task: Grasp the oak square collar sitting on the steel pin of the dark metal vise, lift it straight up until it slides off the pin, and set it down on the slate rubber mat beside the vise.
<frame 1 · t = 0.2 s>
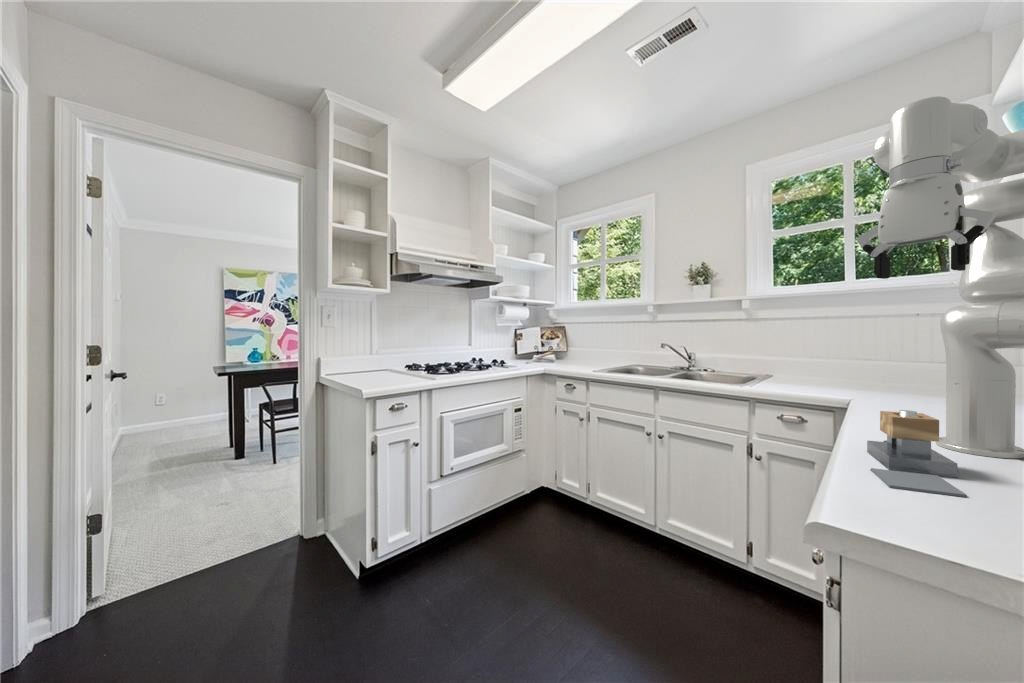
hand: (918, 274, 68), 36 cm above the worktop, tool pointing down, fingers open, 9 cm apart
vise: (907, 463, 76), on the worktop
collar: (907, 435, 76), point 5 cm above the worktop, touching vise
mat: (914, 482, 67), on the worktop
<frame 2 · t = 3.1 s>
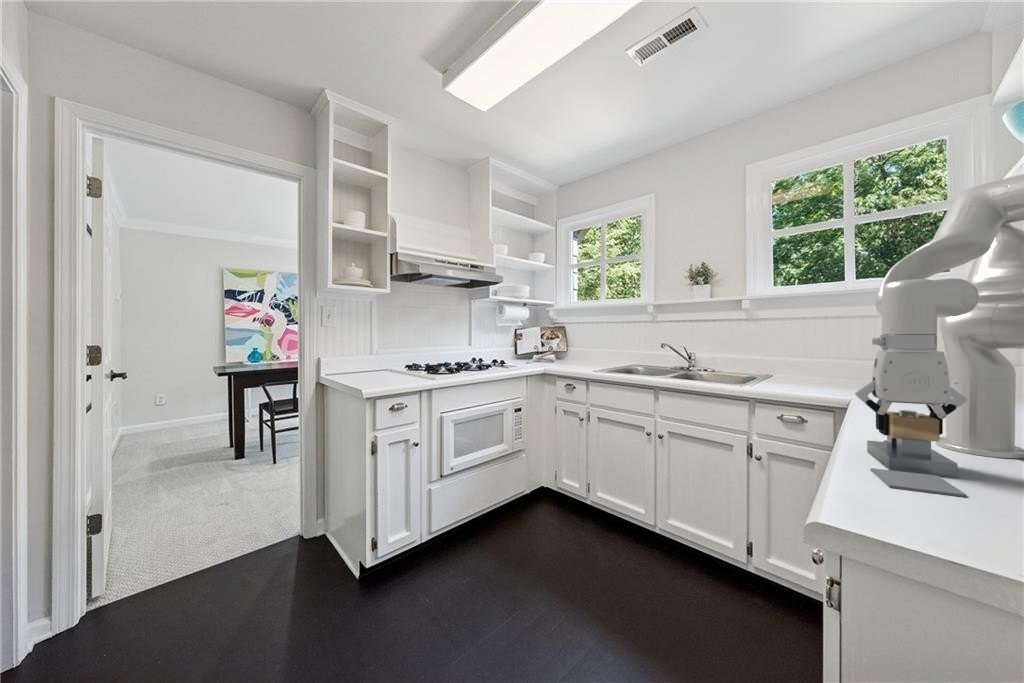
hand: (907, 434, 76), 6 cm above the worktop, tool pointing down, fingers closed on collar, 6 cm apart
collar: (907, 435, 76), point 6 cm above the worktop, touching gripper, vise
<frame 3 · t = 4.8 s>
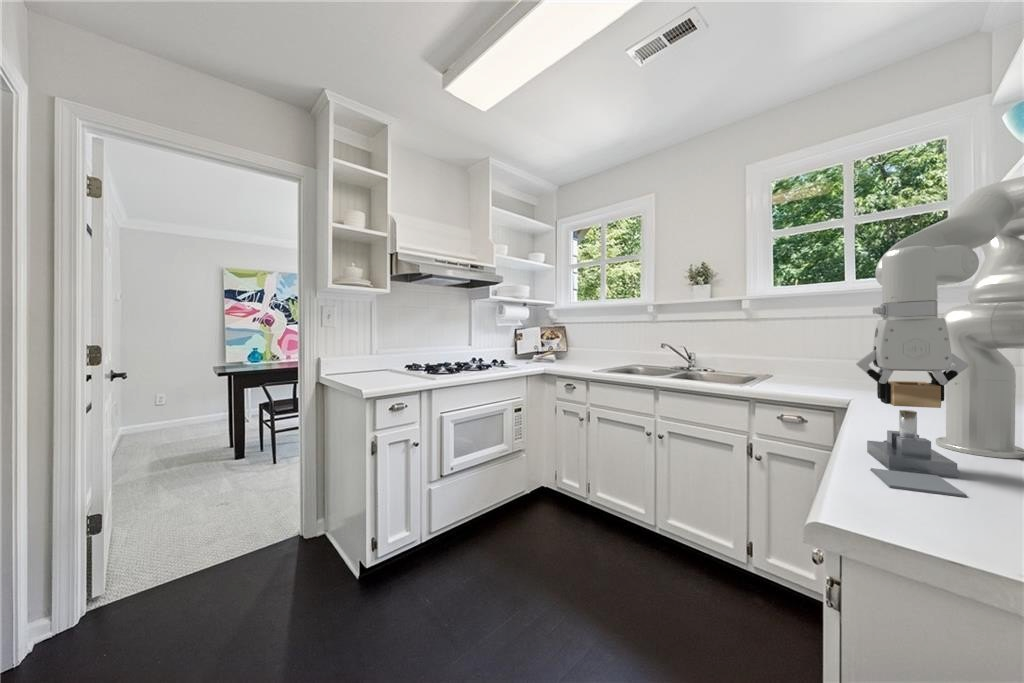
hand: (909, 402, 76), 12 cm above the worktop, tool pointing down, fingers closed on collar, 6 cm apart
collar: (909, 403, 76), point 12 cm above the worktop, touching gripper
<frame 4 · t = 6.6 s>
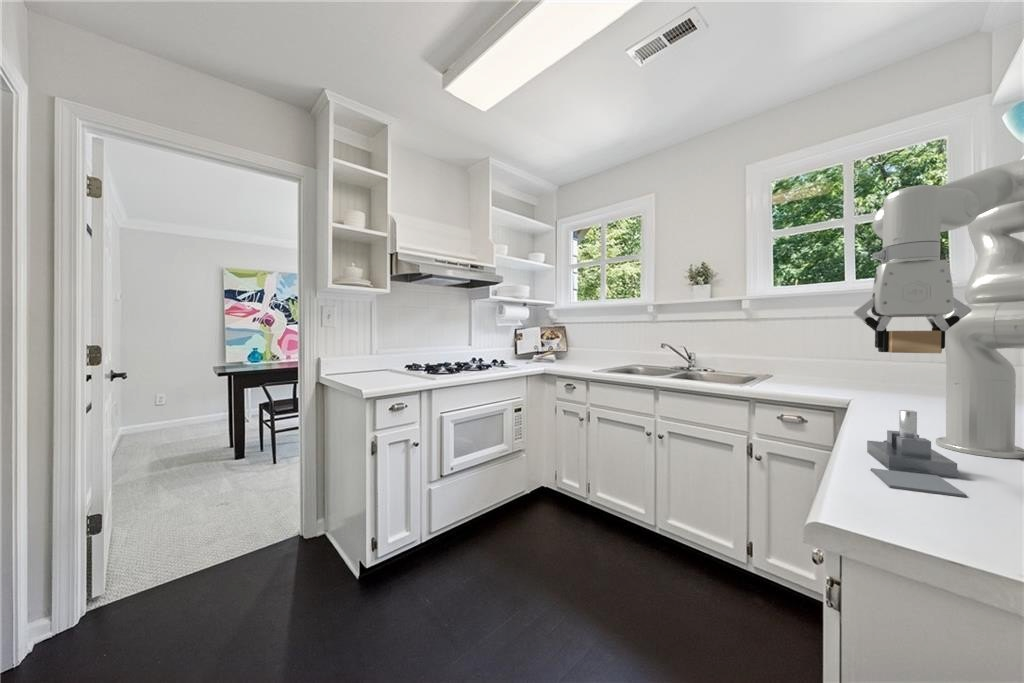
hand: (908, 351, 72), 22 cm above the worktop, tool pointing down, fingers closed on collar, 6 cm apart
collar: (908, 352, 72), point 22 cm above the worktop, touching gripper
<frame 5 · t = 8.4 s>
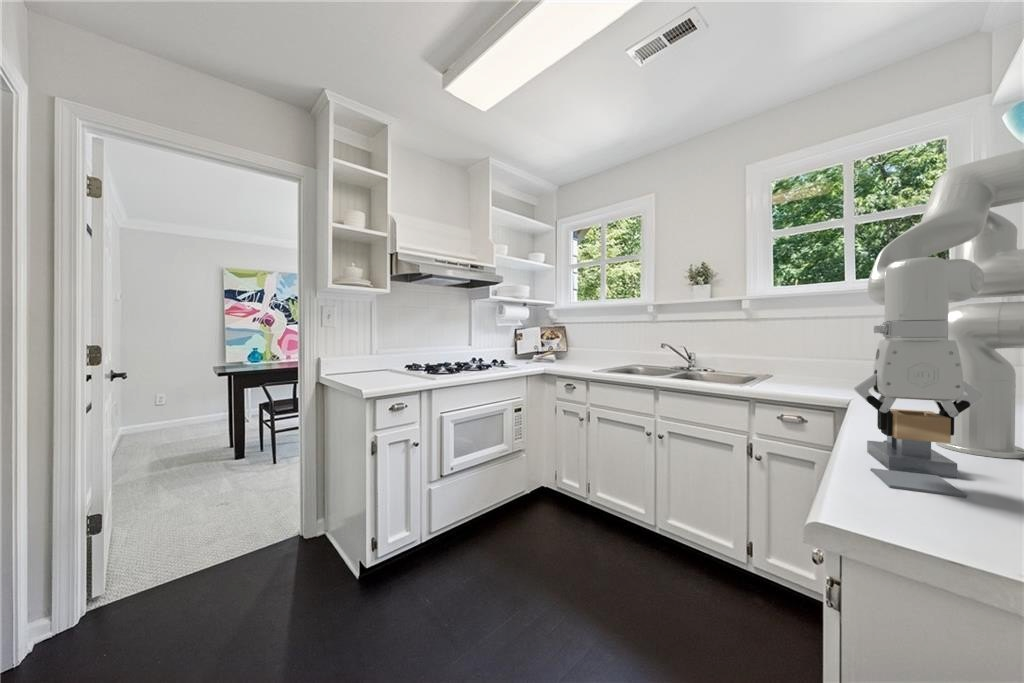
hand: (914, 435, 66), 8 cm above the worktop, tool pointing down, fingers closed on collar, 6 cm apart
collar: (914, 436, 66), point 8 cm above the worktop, touching gripper
when the fingers open (3 cm above the worktop, at t = 10.2 s): collar drops 2 cm, resting on mat.
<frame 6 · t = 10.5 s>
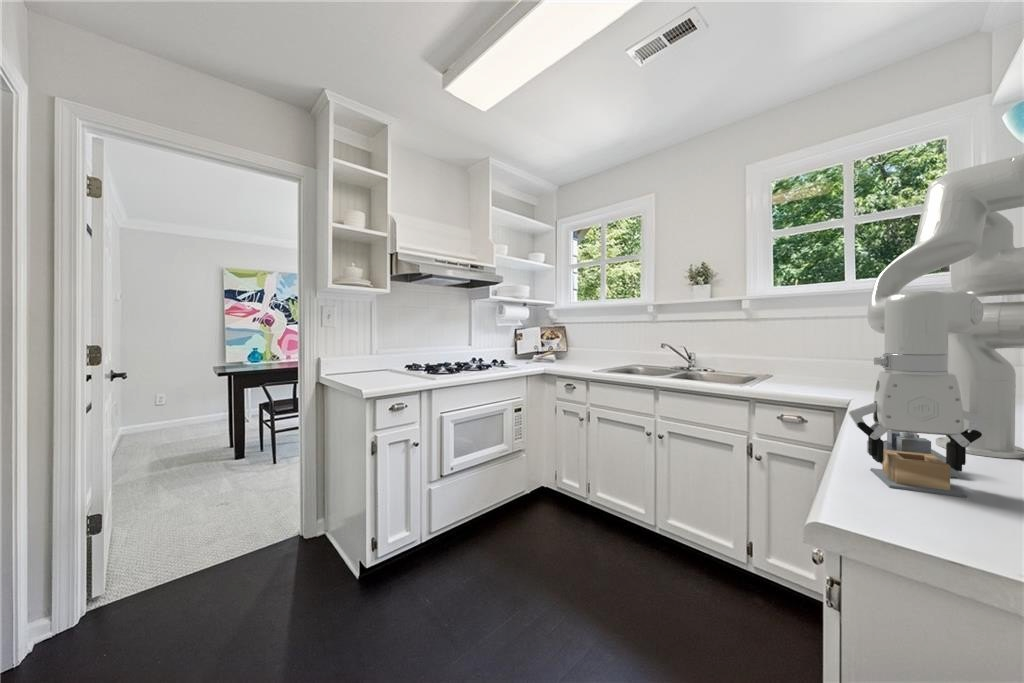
hand: (914, 464, 67), 3 cm above the worktop, tool pointing down, fingers open, 9 cm apart
collar: (914, 480, 67), resting on mat
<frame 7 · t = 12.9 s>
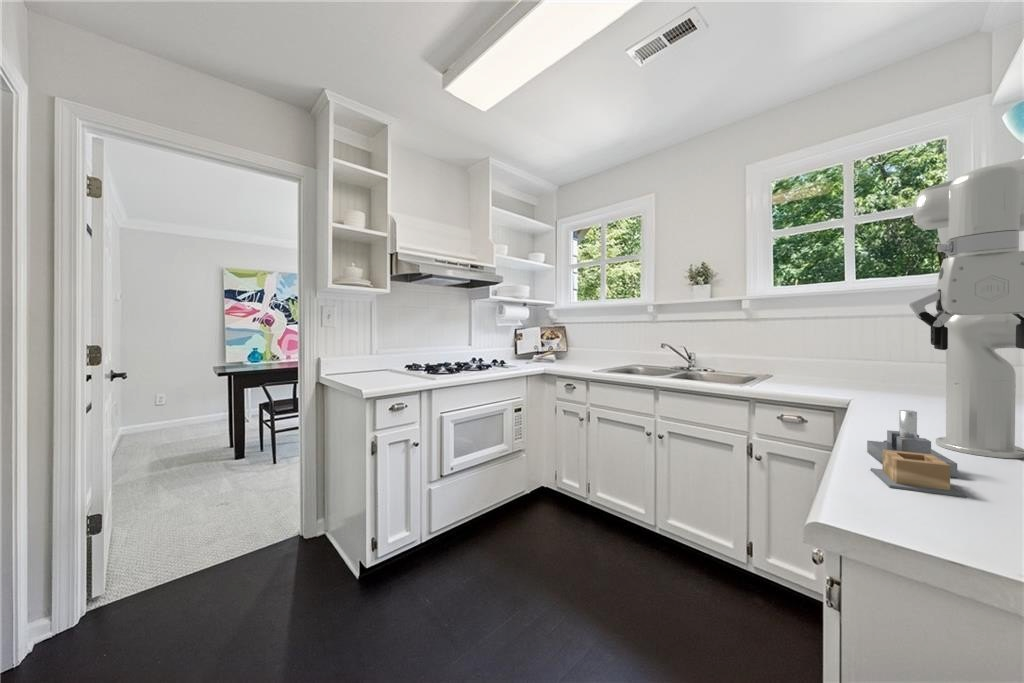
hand: (981, 349, 66), 23 cm above the worktop, tool pointing down, fingers open, 9 cm apart
nothing on the worktop moved.
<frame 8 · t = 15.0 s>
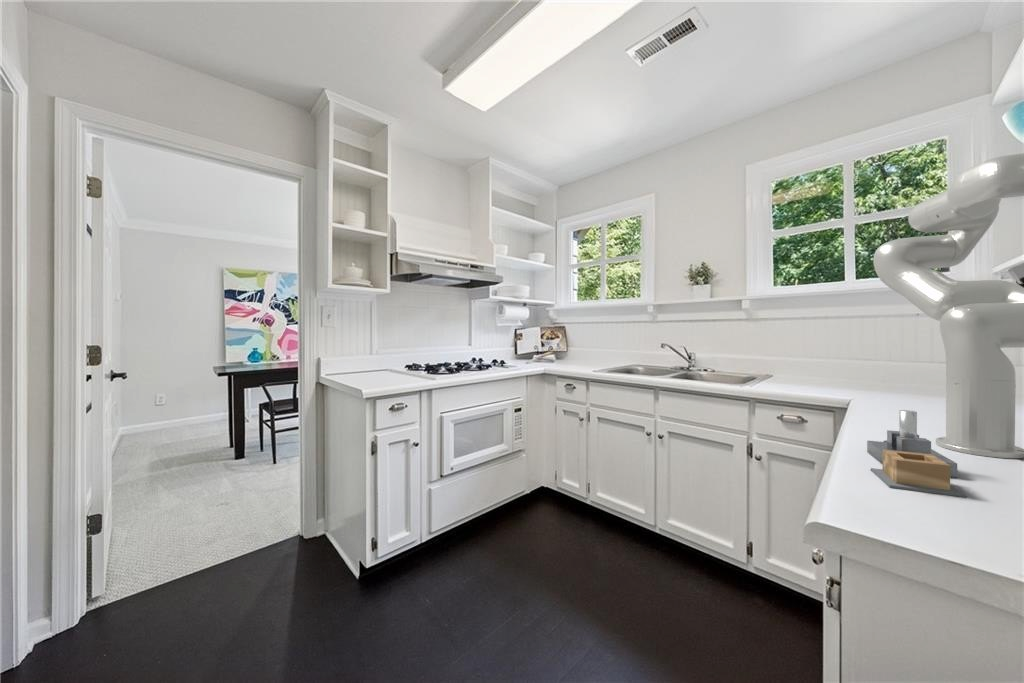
nothing on the worktop moved.
at the end: collar 0.0 cm off-centre on the mat, point 0.4 cm above the mat's base; collar touching mat; collar tilted 0° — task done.
